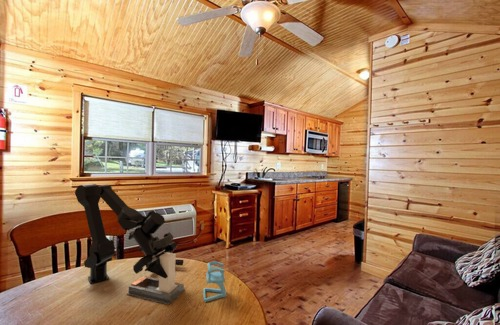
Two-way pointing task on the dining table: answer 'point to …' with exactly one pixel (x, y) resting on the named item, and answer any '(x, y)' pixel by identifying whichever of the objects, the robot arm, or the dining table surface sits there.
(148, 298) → the grey tray
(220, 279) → the chair
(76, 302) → the dining table surface
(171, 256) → the slider
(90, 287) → the dining table surface
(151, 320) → the dining table surface
